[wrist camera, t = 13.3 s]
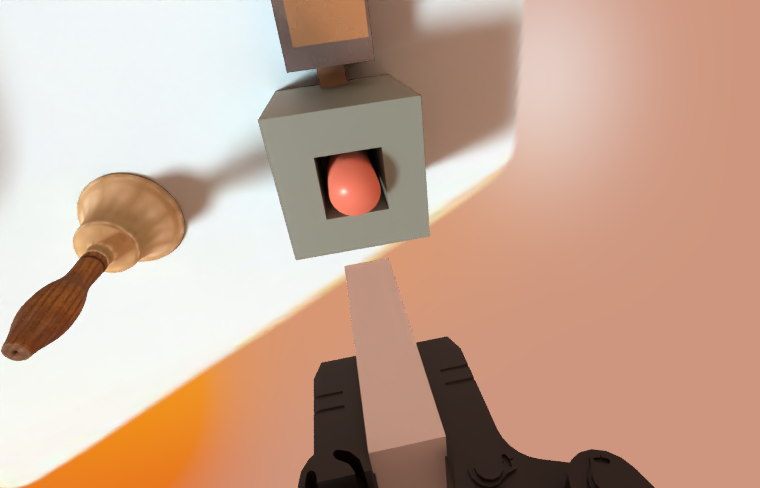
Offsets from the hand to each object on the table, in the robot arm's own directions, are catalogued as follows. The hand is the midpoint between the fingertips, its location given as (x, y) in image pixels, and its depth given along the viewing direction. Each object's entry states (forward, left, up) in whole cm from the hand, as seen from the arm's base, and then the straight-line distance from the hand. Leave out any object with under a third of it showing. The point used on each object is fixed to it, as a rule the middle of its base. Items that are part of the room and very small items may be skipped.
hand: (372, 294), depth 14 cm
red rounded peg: (0, 0, -18) cm, 18 cm away
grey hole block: (0, 0, -22) cm, 22 cm away
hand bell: (+4, -19, -23) cm, 30 cm away
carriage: (-9, 0, -22) cm, 24 cm away
